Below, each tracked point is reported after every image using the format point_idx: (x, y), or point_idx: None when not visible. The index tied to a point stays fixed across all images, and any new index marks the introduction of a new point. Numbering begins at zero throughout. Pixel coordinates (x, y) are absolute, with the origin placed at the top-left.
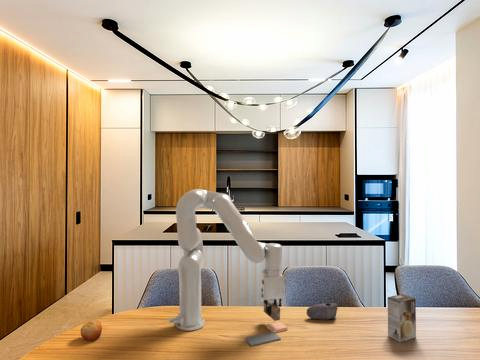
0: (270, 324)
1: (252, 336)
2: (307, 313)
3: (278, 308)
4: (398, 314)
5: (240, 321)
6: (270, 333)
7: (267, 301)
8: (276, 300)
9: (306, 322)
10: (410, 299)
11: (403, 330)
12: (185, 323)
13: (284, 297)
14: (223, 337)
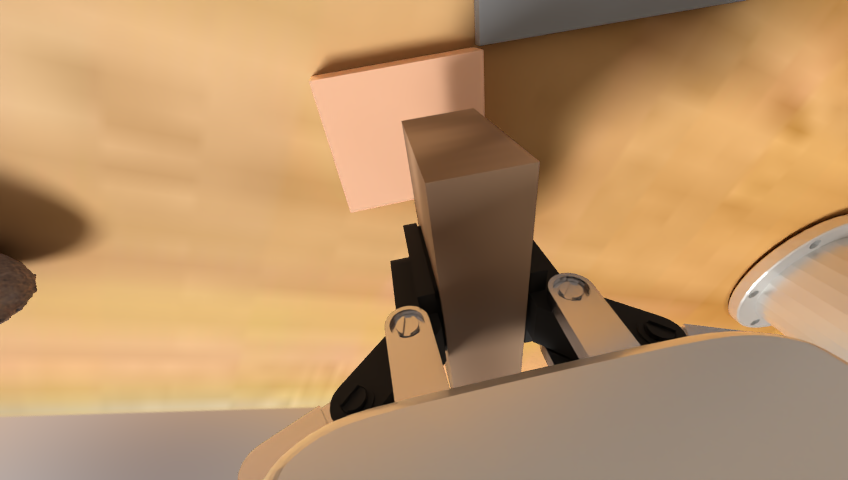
0: None
1: (695, 4)
2: (11, 288)
3: (464, 178)
4: None
5: (582, 275)
6: (521, 14)
7: (626, 338)
8: (444, 373)
9: (67, 192)
10: None
11: None
12: None
13: (256, 455)
14: (818, 89)
